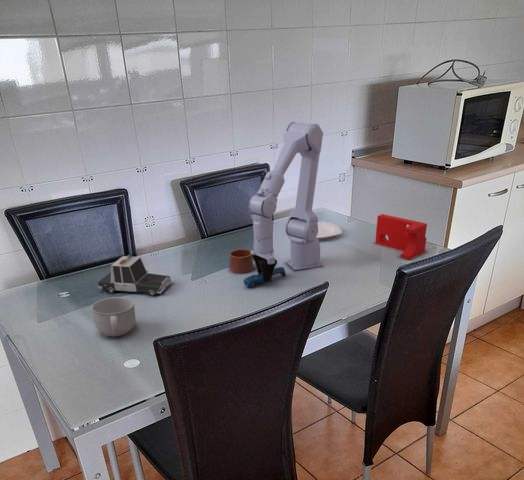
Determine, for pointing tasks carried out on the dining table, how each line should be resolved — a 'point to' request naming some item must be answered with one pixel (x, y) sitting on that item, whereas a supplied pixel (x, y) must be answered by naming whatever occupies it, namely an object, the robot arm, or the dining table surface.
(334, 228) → the plate
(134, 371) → the dining table surface
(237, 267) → the cup
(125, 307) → the teacup
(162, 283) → the toy car
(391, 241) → the bracket
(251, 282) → the figurine
